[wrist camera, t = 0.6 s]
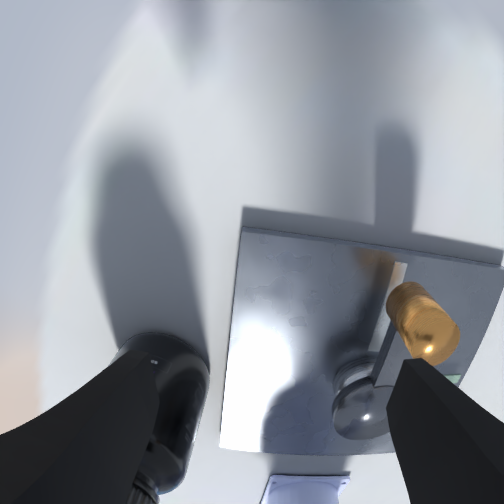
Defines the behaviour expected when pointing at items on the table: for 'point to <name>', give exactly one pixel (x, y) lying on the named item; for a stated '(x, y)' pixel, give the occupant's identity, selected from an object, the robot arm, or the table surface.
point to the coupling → (395, 360)
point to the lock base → (330, 333)
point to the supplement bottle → (169, 414)
